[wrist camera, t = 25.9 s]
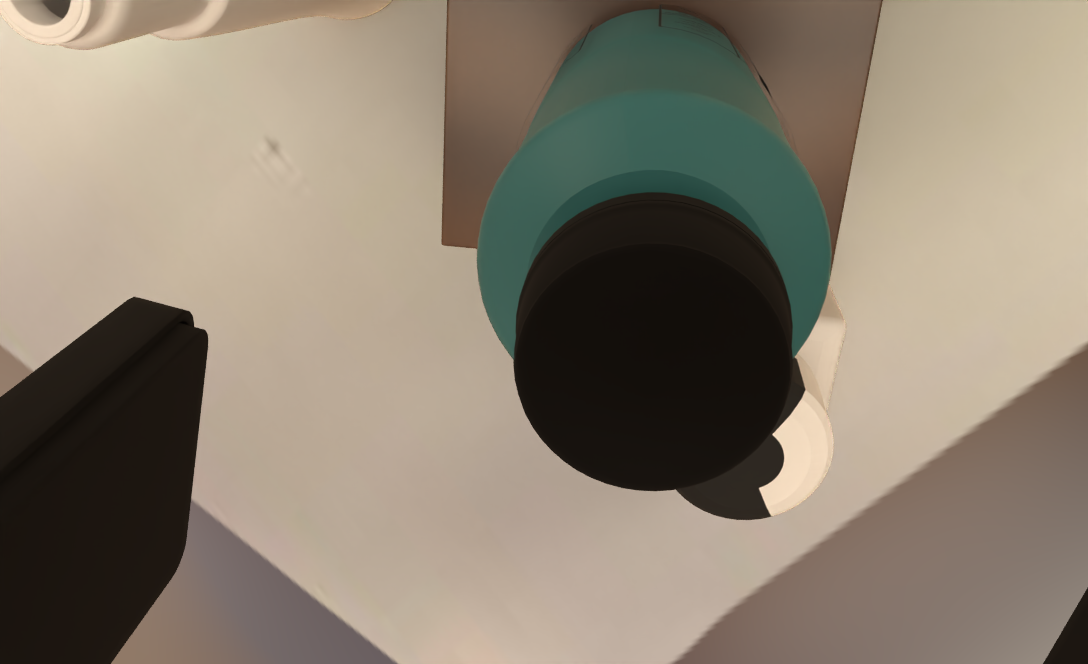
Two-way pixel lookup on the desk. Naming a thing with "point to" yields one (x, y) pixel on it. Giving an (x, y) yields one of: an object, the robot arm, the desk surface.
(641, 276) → the beverage bottle
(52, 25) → the cosmetic bottle
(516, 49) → the lid
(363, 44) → the desk surface
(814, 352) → the medicine bottle
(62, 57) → the desk surface
